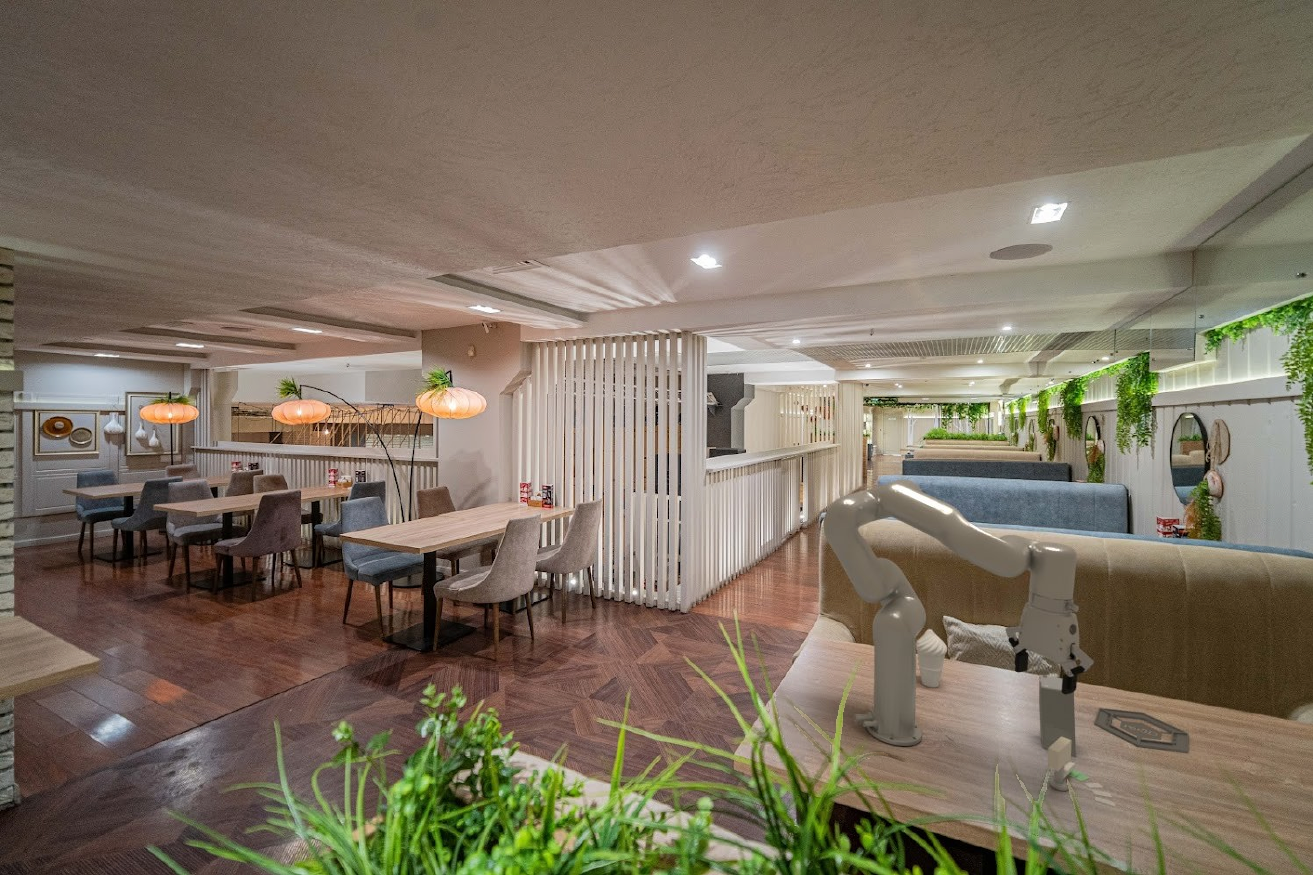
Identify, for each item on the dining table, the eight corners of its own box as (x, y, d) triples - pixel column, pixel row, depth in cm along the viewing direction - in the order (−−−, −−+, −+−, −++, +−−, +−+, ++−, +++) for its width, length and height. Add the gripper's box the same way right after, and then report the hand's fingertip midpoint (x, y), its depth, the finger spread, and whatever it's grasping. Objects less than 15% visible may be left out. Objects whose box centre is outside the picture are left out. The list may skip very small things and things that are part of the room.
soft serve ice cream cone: (951, 691, 159) (953, 635, 158) (922, 691, 159) (923, 635, 158) (937, 677, 167) (938, 624, 167) (909, 677, 167) (910, 624, 167)
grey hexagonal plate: (1091, 733, 139) (1091, 730, 138) (1101, 703, 153) (1101, 700, 153) (1187, 764, 127) (1188, 760, 127) (1188, 728, 141) (1188, 725, 141)
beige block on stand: (1061, 796, 113) (1062, 753, 113) (1043, 788, 115) (1044, 746, 115) (1080, 776, 119) (1082, 735, 119) (1063, 768, 122) (1064, 728, 122)
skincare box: (1076, 763, 126) (1079, 694, 126) (1038, 752, 130) (1040, 685, 129) (1072, 744, 133) (1075, 679, 133) (1036, 735, 137) (1038, 671, 137)
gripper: (1107, 615, 111) (1100, 698, 112) (1021, 587, 127) (1015, 661, 128) (1083, 619, 108) (1076, 705, 109) (998, 590, 124) (993, 666, 125)
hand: (1043, 681), depth 119 cm, fingers open, 9 cm apart
